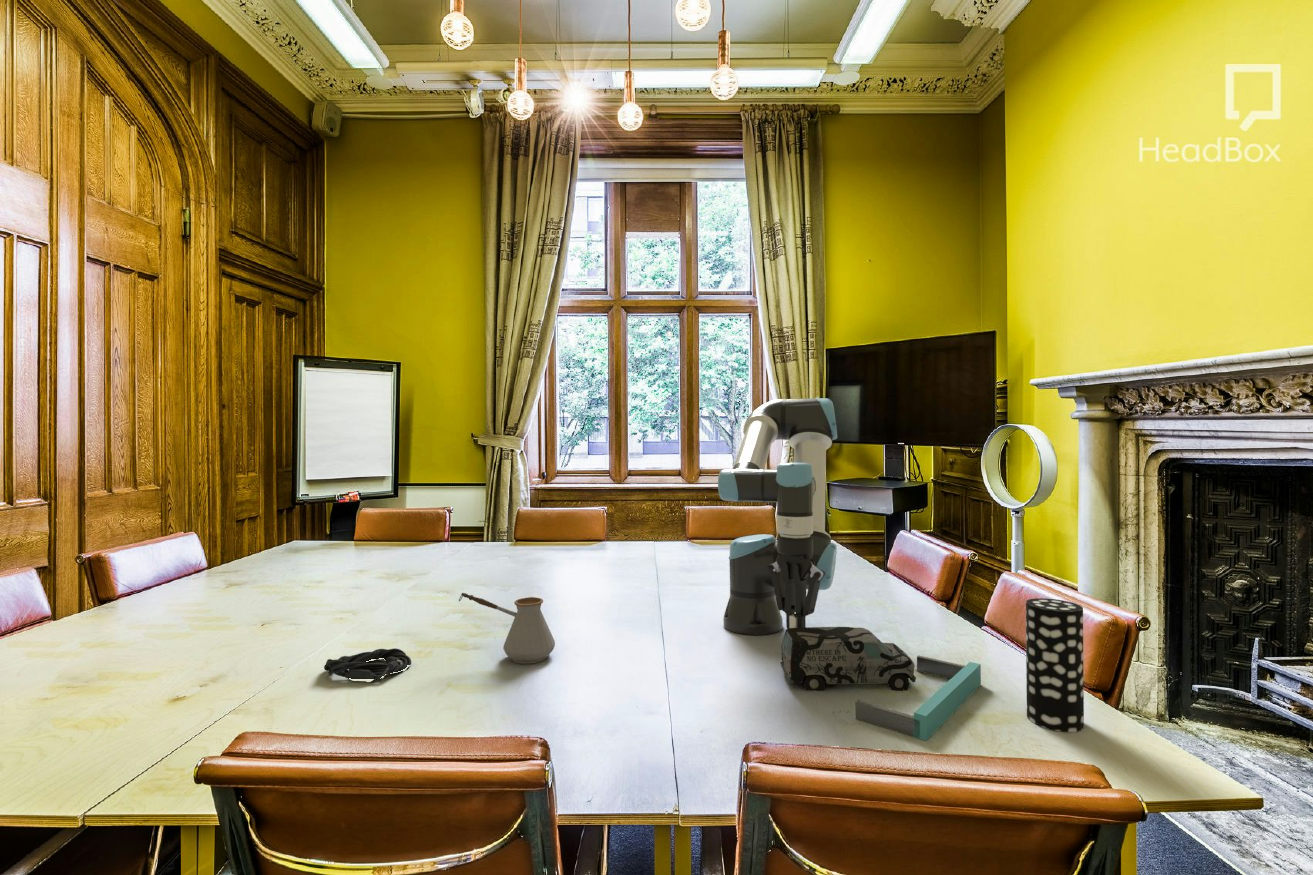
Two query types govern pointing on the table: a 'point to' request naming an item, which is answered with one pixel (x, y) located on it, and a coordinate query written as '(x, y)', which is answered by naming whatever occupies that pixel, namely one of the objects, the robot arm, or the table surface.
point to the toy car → (843, 658)
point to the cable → (368, 664)
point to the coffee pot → (524, 630)
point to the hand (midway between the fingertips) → (796, 645)
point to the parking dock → (935, 707)
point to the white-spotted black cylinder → (1055, 664)
